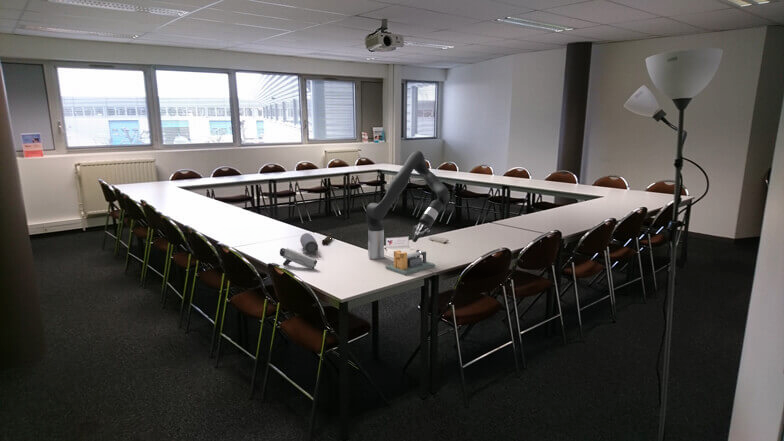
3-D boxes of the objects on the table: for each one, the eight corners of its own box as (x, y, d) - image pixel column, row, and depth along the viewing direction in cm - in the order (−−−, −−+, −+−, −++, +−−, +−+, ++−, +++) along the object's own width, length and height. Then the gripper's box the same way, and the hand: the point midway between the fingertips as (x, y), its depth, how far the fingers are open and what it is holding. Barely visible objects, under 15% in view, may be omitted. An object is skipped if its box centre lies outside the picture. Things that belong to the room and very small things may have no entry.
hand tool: (327, 245, 310) (327, 238, 309) (321, 245, 311) (321, 238, 310) (335, 238, 329) (334, 232, 328) (329, 238, 329) (329, 232, 328)
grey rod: (420, 250, 266) (398, 256, 255) (424, 251, 263) (402, 257, 253) (420, 253, 266) (398, 259, 255) (424, 254, 264) (402, 260, 253)
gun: (280, 261, 270) (282, 245, 267) (315, 276, 261) (317, 260, 258) (277, 262, 268) (279, 246, 265) (312, 277, 259) (315, 261, 256)
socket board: (415, 260, 273) (415, 247, 272) (434, 266, 262) (435, 252, 260) (385, 268, 259) (385, 254, 257) (404, 275, 247) (404, 260, 245)
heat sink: (411, 261, 266) (411, 254, 266) (422, 264, 260) (422, 258, 259) (399, 264, 261) (399, 257, 260) (410, 268, 254) (410, 261, 253)
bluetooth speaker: (299, 247, 305) (298, 232, 303) (313, 246, 307) (313, 231, 305) (304, 256, 283) (303, 241, 281) (319, 255, 286) (318, 239, 284)
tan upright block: (399, 265, 259) (399, 250, 257) (407, 268, 254) (407, 252, 252) (393, 267, 256) (393, 251, 254) (401, 269, 251) (401, 253, 249)
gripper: (440, 222, 261) (425, 247, 256) (424, 219, 271) (408, 242, 266) (434, 214, 257) (418, 239, 251) (417, 211, 267) (402, 235, 261)
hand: (413, 241), depth 259 cm, fingers closed
